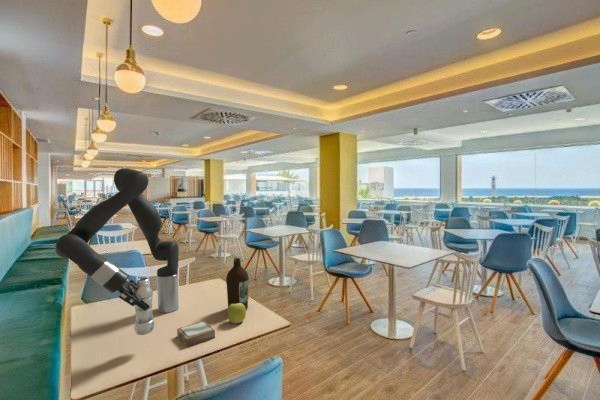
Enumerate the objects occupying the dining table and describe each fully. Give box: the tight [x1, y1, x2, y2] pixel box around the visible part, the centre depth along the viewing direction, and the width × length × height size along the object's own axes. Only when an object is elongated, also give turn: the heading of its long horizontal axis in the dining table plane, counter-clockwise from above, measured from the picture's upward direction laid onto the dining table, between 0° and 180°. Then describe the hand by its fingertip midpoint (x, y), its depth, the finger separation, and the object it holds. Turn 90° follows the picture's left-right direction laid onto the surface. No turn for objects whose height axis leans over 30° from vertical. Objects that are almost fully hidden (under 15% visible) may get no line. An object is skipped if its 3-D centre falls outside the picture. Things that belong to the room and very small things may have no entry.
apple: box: [226, 301, 247, 325], centre depth 136 cm, size 8×8×10 cm
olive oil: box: [225, 256, 250, 311], centre depth 149 cm, size 11×11×25 cm
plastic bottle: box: [133, 277, 155, 336], centre depth 112 cm, size 6×7×20 cm
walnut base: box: [176, 320, 216, 348], centre depth 123 cm, size 11×11×3 cm
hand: (148, 304), depth 113 cm, fingers closed on plastic bottle, 6 cm apart
